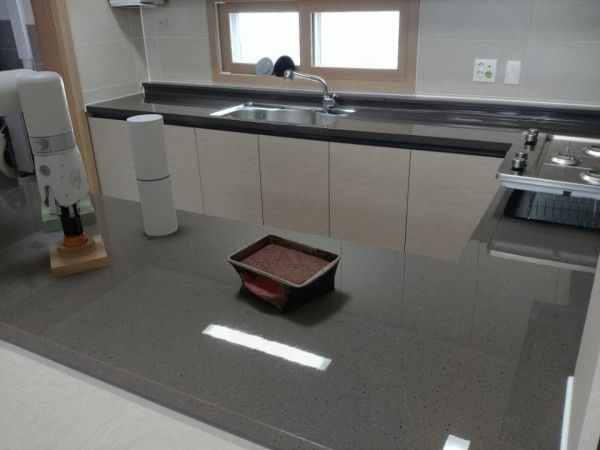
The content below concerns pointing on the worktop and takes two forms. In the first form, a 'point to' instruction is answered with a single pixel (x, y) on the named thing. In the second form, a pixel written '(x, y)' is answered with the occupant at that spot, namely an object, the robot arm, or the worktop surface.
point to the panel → (54, 222)
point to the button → (74, 240)
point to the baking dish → (284, 270)
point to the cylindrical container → (153, 174)
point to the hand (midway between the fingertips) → (74, 234)
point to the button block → (78, 257)
